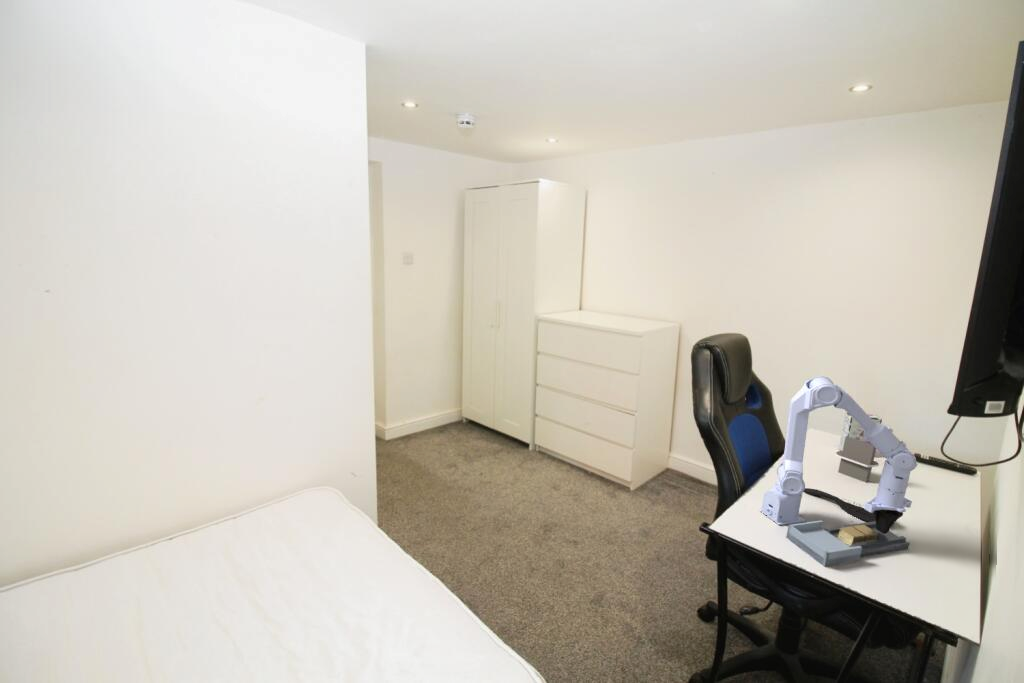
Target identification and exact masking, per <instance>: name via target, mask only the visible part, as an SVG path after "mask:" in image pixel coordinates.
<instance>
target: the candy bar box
mask: <svg viewBox="0 0 1024 683" xmlns="http://www.w3.org/2000/svg"><path fill="white" fill-rule="evenodd" d="M866 414H867V415H868V416H869V417H870V418H871V419H872V420H873V421H874V422H875V423H881V424H882V420H883V418H881V417H879V416H878V415H876V414H870V413H869V414H868V413H866ZM842 425H843V426H842V432H841V436H840V441H839V442H840V443H839V447H838V451H843V447H844V442H845V437H846V436H847V437H851V438H854V439H856V437H860V438H859V440H860V441H863V442H866V443H870V442H869V441H868V440H867V439H866V438H865V437H864V435H863V433H864V428H863V427H862V426H861V425H860V424H859V423H858V422H857V421H856V420H855V419H854V418H853V417H852V416H851V415H850V414H849V413H847V412H845V414H844V421H843V424H842ZM870 444H871V443H870Z"/></svg>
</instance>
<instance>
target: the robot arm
mask: <svg viewBox="0 0 1024 683" xmlns="http://www.w3.org/2000/svg"><path fill="white" fill-rule="evenodd" d="M830 406H833V407H834V408H835V409H842V410H844V411H845V413H849V414H850V415H851V416H852V417H853V418H854V419H855V420H856V421H857V422H858V423H859V424H860V425H861V426H862V427H863V428H864V433H863V435H864V437H865V438H866V439H867V440H868V441H869V442H870V443H871V444H872V445H873V446H874V447H875V448H876V451H878V452H879V453H880V454H881V455H882V457H883V458H885V460H884V463H883V466H882V467H883V468H882V469H881V475H880V478H879V484H878V487H877V492H876V496H874V498H872V499H870V500H869V501H866V502H865V504H864V505H863V508H864V509H865V510H867V511H869V512H870V513H873V512H874V515H875V520H876V529H877V530H878V531H880V532H881V533H883V534H885V533H888V531H890V530H891V528H892V527H893V525H894V524H895V523H896V522H897V520H899V519H900V518H901V517H903V515H904V513H906V511H907V509H906V508H908V509H909V508H911V507H912V503H913V502H912V500H910V499H908V498H907V497H905V496H906V492H907V489H908V488H907V487H908V484H909V480H910V475H911V472H912V471H913V470H915V469H916V468H917V466H918V463H917V458H916V456H915V454H914V453H912V452H911V451H910V450H909V449H908V447H907V443H906V442H905V441H901V440H900V439H899V438H898V437H897V436H896V435H895V434H894V433H893V432H894V429H892V428H891V427H890V426H889V425H887V426H886V424H884V423H882V422H881V423H875V422H874V421H873V420H872V419H871V418H870V417H869V416H868V415H867V414H868V413H867V412H865V410H864V409H863V408H862V407H861V406H860V404H858V402H856V401H855V399H854V398H853V397H852V396H851V395H850V394H849V393H847V392H846V391H845V390H844V389H842V387H840V386H839V385H838V384H835V383H834V381H833V380H831V378H829V377H827V376H824V375H819V376H815V377H813V378H810V379H809V380H807V381H805V382H804V385H803V386H802V387H801V388H800V389H799V390H798V392H797V393H795V394H794V396H793V397H792V398H791V399H790V402H789V410H788V418H787V419H788V420H787V427H786V436H785V444H784V445H785V446H784V452H783V457H782V458H781V462H780V464H779V466H778V467H777V468H776V474H777V476H778V479H777V480H776V482H775V483H774V486H773V487H772V488H771V489H768V490H766V491H765V493H764V494H763V500H762V504H761V505H762V507H761V508H759V509H758V510H759V511H760V512H761V511H762V512H763V513H764V514H763V513H762V512H761V513H762V514H763V515H765V516H766V515H767V516H766V517H768V518H769V519H770V520H771V521H773V522H774V521H775V523H776V524H777V525H778V526H783V525H791V524H798V523H806V522H805V521H806V520H805V519H804V518H803V517H801V516H800V515H799V514H800V513H799V512H800V508H801V502H802V499H803V493H804V492H803V491H804V489H805V488H806V484H805V481H804V479H803V477H804V476H803V475H804V470H803V467H804V466H803V465H804V464H803V463H804V462H803V461H804V453H805V446H806V438H807V433H808V432H807V431H808V424H809V415H810V413H811V412H813V411H815V410H816V409H819V408H825V407H830Z"/></svg>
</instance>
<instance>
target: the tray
mask: <svg viewBox="0 0 1024 683" xmlns="http://www.w3.org/2000/svg"><path fill="white" fill-rule="evenodd" d="M787 525H788V526H787V532H786V536H785V538H786V539H787V538H788V540H789V541H790V542H792V543H793V544H794V545H796V547H798V548H799V549H800V550H802V551H804V552H805V553H806V554H807V555H809V556H810V557H811V558H812V559H814V560H815V561H816V562H818V563H819V564H820V565H822V566H823V567H825V568H826V567H830V566H831V567H832V566H837V565H841V564H848V563H853V562H859V561H860V558H861V557H860V555H861V550H862V547H861V546H856V547H849V546H848V545H846V544H845V543H843V542H842V541H840V540H839V539H837V538H836V537H834V536H833V535H831V534H830V533H828V532H827V531H825V530H824V528H823V525H824V521H823V520H814V521H808V522H799V523H792V524H787Z"/></svg>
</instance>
